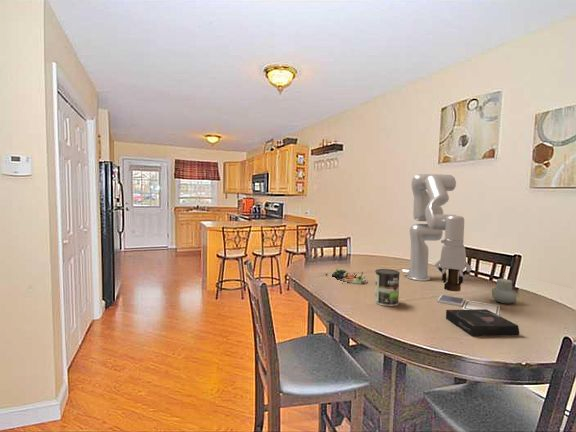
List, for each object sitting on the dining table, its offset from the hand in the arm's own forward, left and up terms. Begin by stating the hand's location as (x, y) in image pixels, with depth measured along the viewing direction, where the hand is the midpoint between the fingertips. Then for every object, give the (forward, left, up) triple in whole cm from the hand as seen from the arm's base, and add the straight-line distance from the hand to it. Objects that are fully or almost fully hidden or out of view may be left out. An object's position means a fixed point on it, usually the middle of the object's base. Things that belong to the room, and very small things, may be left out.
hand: (452, 283), depth 152 cm
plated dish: (-54, +10, -9) cm, 56 cm away
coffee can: (-24, -19, -9) cm, 31 cm away
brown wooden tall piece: (0, 0, -3) cm, 3 cm away
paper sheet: (+12, -2, -9) cm, 15 cm away
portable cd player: (+13, -26, -9) cm, 31 cm away
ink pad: (0, 0, -9) cm, 9 cm away
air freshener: (+19, +14, -9) cm, 26 cm away
